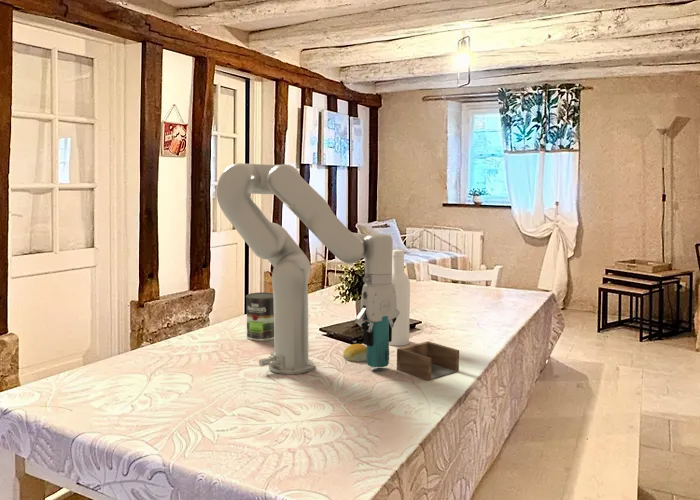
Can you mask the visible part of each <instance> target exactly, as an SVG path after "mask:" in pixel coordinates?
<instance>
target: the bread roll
mask: <svg viewBox="0 0 700 500" xmlns="http://www.w3.org/2000/svg"><path fill="white" fill-rule="evenodd" d="M366 347H367V345H365V344H362V343H353V344H350V345H348V346H347V347H345V349H343V352H342V356H343V357H344V358H345V360H347V361H349V362H355V363H357V362H358V363H359V362H367V359H366V358H367V357H366Z"/></svg>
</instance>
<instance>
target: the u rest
mask: <svg viewBox="0 0 700 500" xmlns="http://www.w3.org/2000/svg"><path fill="white" fill-rule="evenodd" d="M459 368H460V349H456V348H453V347H449V346H446V345H442V344H439V343H435V342H432V341H424V342H420V343H415V344H412V345H405V346H401V347H398V348H396V371H399V372H402V373H405V374H408V375H411V376H413V377H417V378H419V379H422V380H424V381H432V380H434V379H438V378H442V377H445V376H448V375H451V374H454V373H458V372H459V371H460V369H459Z"/></svg>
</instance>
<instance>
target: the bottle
mask: <svg viewBox="0 0 700 500" xmlns="http://www.w3.org/2000/svg"><path fill="white" fill-rule="evenodd" d="M404 266H405V250H403V249H393V250H392V283H394V286H395V291H396V299H397V309H398V310H399V312H400V314H399V315H398V317H397V318H396V321H395V323H394V326H393V328H392V341H391V342H389V346H395V347H404V346H408V345H409V343H410V313H411V311H410V310H411V309H410V308H411V307H410V306H411V305H410V304H411V282H410V278H409V276H408V275H407V274H406V273H405V272H404V270H405V268H404Z"/></svg>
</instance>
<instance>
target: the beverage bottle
mask: <svg viewBox="0 0 700 500" xmlns="http://www.w3.org/2000/svg"><path fill="white" fill-rule="evenodd" d="M368 325H369V322H368V324H367V326H368ZM371 332H373V346H368V345H366V357H367V358H366V359H367V361H366V364H367V366H369V367H372V368H385V367H387V366H389V364H390V345H389V320H388V316H383V317H382V321H380V322H376V323H374V324H373V327H372V330H371Z"/></svg>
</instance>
